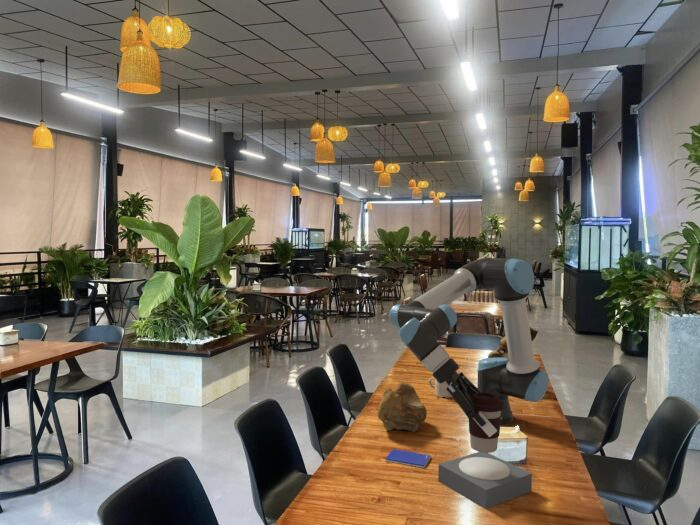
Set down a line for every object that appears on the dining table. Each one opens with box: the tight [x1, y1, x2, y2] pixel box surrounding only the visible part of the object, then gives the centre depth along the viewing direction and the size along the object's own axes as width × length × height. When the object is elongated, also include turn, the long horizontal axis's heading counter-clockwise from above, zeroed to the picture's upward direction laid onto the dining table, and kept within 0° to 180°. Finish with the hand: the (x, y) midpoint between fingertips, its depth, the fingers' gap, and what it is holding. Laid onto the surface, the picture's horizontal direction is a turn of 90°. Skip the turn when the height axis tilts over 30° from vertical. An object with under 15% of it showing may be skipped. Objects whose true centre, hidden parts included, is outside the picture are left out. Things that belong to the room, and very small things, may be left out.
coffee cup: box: [468, 392, 503, 454], centre depth 147 cm, size 10×10×15 cm
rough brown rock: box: [377, 381, 428, 433], centre depth 193 cm, size 23×17×15 cm
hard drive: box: [385, 448, 432, 469], centre depth 165 cm, size 2×8×12 cm
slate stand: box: [437, 451, 533, 509], centre depth 148 cm, size 18×18×5 cm
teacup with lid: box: [428, 376, 453, 399], centre depth 232 cm, size 12×9×12 cm
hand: (495, 427), depth 146 cm, fingers closed on coffee cup, 10 cm apart
